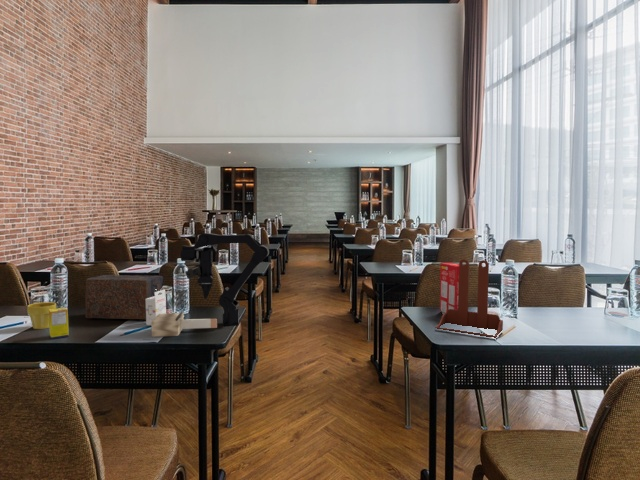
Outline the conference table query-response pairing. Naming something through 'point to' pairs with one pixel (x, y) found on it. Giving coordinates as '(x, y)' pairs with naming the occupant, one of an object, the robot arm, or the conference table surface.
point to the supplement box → (58, 323)
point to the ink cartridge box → (155, 306)
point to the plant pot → (40, 314)
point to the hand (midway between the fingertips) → (205, 296)
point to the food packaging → (449, 286)
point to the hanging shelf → (481, 316)
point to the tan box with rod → (167, 324)
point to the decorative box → (120, 295)
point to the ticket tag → (198, 323)
